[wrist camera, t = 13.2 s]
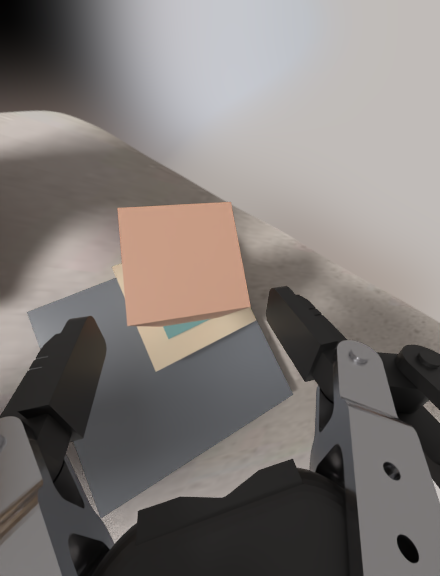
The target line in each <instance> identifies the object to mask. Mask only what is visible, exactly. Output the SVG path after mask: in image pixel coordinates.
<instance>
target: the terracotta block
mask: <svg viewBox="0 0 440 576" xmlns="http://www.w3.org/2000/svg"><path fill="white" fill-rule="evenodd" d="M117 209H118V221H119V233H120V245H121V256H122V268H123V280H124V292H125V304H126V316H127V326H148V327H163V326H169V325H176V324H182V323H188V322H194V321H200V320H207V319H213V318H218V317H221V316H224V315H227V314H230V313H233V312H236V311H239V310H242V309H245V308H248V307H251V305H250V300H249V295H248V290H247V284H246V279H245V274H244V269H243V263H242V258H241V253H240V248H239V242H238V237H237V232H236V226H235V221H234V216H233V211H232V205H231V202H219V203H200V204H181V205H163V206H144V207H125V208H117Z"/></svg>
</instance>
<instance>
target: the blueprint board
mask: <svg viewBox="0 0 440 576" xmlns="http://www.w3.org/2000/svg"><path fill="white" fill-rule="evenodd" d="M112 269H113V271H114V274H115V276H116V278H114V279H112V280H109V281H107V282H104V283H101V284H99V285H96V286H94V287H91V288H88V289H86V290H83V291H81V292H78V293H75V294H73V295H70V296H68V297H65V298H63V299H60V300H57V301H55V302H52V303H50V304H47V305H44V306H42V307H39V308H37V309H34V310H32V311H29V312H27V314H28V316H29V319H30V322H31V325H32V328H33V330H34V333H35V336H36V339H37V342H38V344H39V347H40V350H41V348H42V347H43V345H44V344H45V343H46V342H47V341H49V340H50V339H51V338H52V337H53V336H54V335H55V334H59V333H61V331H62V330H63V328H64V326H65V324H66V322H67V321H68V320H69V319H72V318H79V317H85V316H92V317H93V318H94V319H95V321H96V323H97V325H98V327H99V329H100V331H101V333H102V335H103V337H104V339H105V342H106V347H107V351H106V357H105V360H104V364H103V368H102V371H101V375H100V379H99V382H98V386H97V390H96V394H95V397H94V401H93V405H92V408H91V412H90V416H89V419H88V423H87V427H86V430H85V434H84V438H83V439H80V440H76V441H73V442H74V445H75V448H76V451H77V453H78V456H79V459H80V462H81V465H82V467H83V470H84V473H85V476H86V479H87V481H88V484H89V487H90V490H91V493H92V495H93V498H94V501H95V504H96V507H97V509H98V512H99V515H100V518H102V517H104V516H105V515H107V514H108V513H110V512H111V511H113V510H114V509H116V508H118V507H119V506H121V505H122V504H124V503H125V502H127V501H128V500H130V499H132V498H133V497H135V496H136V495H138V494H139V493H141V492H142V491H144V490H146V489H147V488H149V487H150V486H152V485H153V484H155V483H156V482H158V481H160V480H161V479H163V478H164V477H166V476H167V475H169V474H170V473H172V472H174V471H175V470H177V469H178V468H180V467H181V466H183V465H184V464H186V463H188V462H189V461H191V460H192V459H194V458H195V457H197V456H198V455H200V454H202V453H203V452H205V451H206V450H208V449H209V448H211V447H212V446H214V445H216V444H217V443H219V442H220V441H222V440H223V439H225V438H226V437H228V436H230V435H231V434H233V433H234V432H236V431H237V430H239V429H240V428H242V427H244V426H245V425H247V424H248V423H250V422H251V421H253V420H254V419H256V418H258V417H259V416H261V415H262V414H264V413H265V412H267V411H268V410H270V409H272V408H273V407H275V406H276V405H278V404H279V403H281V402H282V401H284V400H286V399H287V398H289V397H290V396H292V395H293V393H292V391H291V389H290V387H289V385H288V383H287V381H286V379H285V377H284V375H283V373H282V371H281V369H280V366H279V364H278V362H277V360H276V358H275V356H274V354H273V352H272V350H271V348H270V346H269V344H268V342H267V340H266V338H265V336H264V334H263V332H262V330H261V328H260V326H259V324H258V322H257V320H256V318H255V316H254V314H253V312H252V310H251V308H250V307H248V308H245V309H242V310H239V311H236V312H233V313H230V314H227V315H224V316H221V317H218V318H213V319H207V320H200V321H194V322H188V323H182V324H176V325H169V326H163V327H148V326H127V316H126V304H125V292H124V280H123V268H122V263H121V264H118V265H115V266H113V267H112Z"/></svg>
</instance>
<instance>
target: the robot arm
mask: <svg viewBox="0 0 440 576" xmlns="http://www.w3.org/2000/svg"><path fill="white" fill-rule="evenodd" d="M266 317H267V321H268V323H269V325H270V327H271V328H272V330H273V331H274V333H275V335H276V336H277V338H278V339H279V341H280V343H281V344H282V346H283V348H284V349H285V351H286V352H287V354H288V356H289V357H290V359H291V360H292V362H293V364H294V365H295V367H296V368H297V370H298V372H299V373H300V375H301V376H302V378H303V380H304V381H305V382H307V381H311V380H315V381H316V382H317V384H318V386H317V392H316V418H315V437H314V442H313V445H312V450H311V456H310V470H306V469H302V468H296V465H295V463H294V461H293V459H291V460H288V461H285V462H282V463H279V464H276V465H273V466H270V467H267V468H264V469H261V470H259V471H257V472H256V473H255V474H254V475H252V476H251V477H250V478H248V479H247V480H246V481H245V482H243V483H242V484H241V485H240V486H238V487H237V488H236V489H235V490H233V491H232V492H231V493H230V494H228V495H227V496H225V497H223V498H206V497H178V498H175V499H172V500H169V501H166V502H163V503H161V504H158V505H155V506H152V507H149V508H146V509H143V510H140V511H138V520H137V523H136V524H135V525H134V526H132V527H131V528H130V529H129V530H128V531H127V532H126V533H125V534H124V535H123V536H121V538H120V539H119V540H118V541H117V542H116V543H115V544H114V542H113V540H112V538H111V536H110V534H109V532H108V530H107V528H106V526H105V525H104V523H103V522H102V520H101V519H100V517H99V516H98V515H97V514H96V513H95V511H94V510H93V509H92V507H91V505H90V503H89V501H88V499H87V497H86V495H85V493H84V490H83V488H82V486H81V484H80V482H79V480H78V478H77V476H76V474H75V471H74V469H73V467H72V465H71V463H70V461H69V459H68V457H67V455H66V451H67V448H68V445H69V442H72V441H76V440H80V439H83V438H84V434H85V430H86V427H87V423H88V419H89V416H90V412H91V408H92V405H93V401H94V397H95V394H96V390H97V386H98V382H99V379H100V375H101V371H102V368H103V364H104V360H105V357H106V351H107V347H106V342H105V339H104V337H103V335H102V333H101V331H100V329H99V327H98V325H97V323H96V321H95V319H94V318H93V317H92V316H85V317H79V318H72V319H69V320H68V321H67V322H66V324H65V326H64V328H63V330H62V331H61V333H59V334H55V335H54V336H53V337H52V338H51V339H50V340H49V341H47V342H46V343H45V344H44V345H43V347H42V348H41V350H40V352H39V353H38V355H37V357H36V360H34V361H33V363H32V365H31V366H30V368H29V369H30V370H29V371H27V373H26V375H25V376H24V378H23V380H22V381H21V383H20V385H19V386H18V388H17V389H16V391H15V393H14V394H13V396H12V398H11V399H10V401H9V403H8V404H7V406H6V408H5V409H4V411H3V413H2V414H1V416H0V576H440V503H439V499H438V496H437V493H436V490H435V487H434V484H433V481H432V479H433V480H434V482H435V483H436V484H437V486H438V487H439V488H440V423H439V422H438V421H437V420H436V419H435V418H434V417H433V416H432V415H431V414H430V413H429V412H428V411H427V410H426V409H425V408H424V406H423V405H424V404H425V403H426V402H427V401H429V400H430V401H431V402H432V403H433V404H434V405H435V406H436V407H437V408H438V409H439V410H440V354H438V353H436V352H434V351H432V350H430V349H428V348H425V347H422V346H418V345H407V346H405V347H404V348H403V349H402V350H401V351H400V353H399V354H390V353H377V352H375V351H374V350H373V349H372V348H370V347H369V346H367V345H365V344H363V343H361V342H358V341H354V340H347V339H346V338H345V337H344V336H343V335H342V334H341V333H340V332H339V331H338V330H337V329H336V328H335V327H334V326H333V325H332V324H331V323H330V322H329V321H328V320H327V319H326V318H325V317H324V316H323V315H321V313H320V312H319V311H318V310H317V309H315V307H314V306H313V305H312V304H311V303H310V302H309V301H308V300H307V299H305V298H303V297H302V296H300V295H295V294H294V293H293V291H292V290H291V289H290V288H289V287H287V286H283V287H277V288H272V289H271V290H270V292H269V298H268V304H267V310H266Z"/></svg>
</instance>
